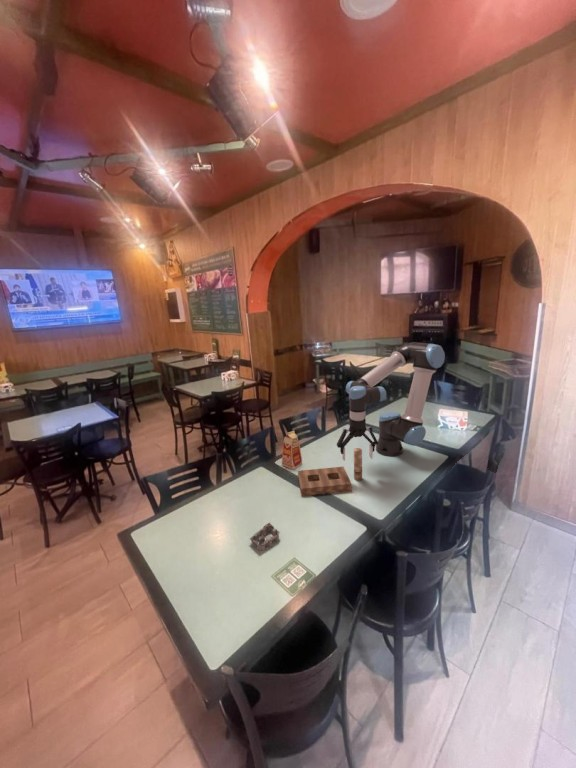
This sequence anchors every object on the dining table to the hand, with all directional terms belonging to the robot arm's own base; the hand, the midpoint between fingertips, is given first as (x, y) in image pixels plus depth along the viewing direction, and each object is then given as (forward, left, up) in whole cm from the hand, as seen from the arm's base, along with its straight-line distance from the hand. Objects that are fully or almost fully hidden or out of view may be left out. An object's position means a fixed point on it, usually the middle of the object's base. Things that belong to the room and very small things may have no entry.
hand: (357, 458), depth 155 cm
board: (+18, +2, -11) cm, 21 cm away
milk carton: (+32, -21, -12) cm, 40 cm away
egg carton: (+46, +36, -12) cm, 60 cm away
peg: (0, 0, -11) cm, 11 cm away
